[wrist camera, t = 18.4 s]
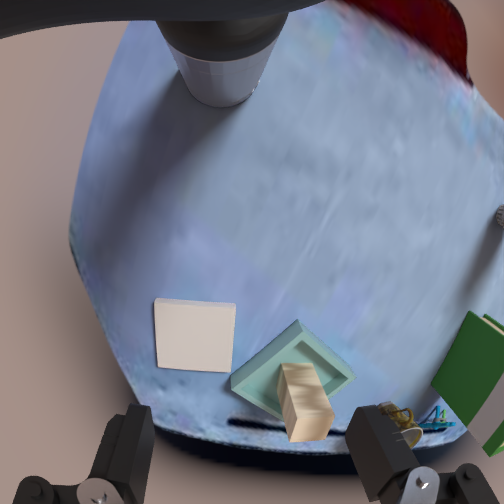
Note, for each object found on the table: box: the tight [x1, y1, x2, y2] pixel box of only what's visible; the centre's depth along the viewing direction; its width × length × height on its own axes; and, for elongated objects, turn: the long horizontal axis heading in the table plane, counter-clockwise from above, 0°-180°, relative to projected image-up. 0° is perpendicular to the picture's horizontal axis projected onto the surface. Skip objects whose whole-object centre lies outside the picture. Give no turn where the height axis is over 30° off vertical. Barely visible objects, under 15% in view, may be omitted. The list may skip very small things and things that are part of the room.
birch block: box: [276, 363, 335, 442], centre depth 39 cm, size 5×5×12 cm
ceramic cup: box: [377, 401, 423, 449], centre depth 46 cm, size 13×10×10 cm
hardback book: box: [431, 311, 504, 457], centre depth 38 cm, size 18×7×24 cm, turn 165°
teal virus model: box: [418, 406, 456, 429], centre depth 53 cm, size 11×6×10 cm
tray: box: [230, 319, 357, 422], centre depth 44 cm, size 14×14×4 cm
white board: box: [154, 298, 236, 372], centre depth 41 cm, size 11×11×2 cm
